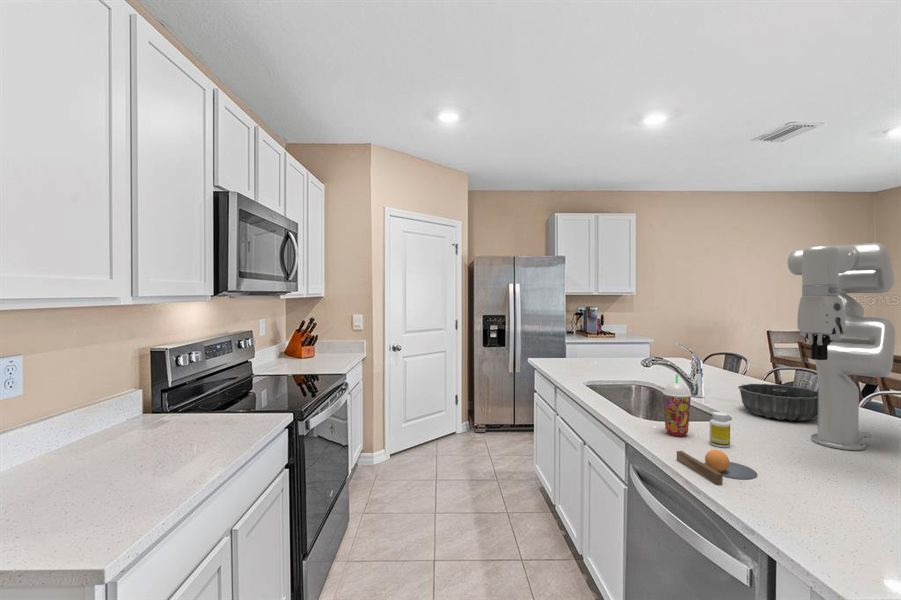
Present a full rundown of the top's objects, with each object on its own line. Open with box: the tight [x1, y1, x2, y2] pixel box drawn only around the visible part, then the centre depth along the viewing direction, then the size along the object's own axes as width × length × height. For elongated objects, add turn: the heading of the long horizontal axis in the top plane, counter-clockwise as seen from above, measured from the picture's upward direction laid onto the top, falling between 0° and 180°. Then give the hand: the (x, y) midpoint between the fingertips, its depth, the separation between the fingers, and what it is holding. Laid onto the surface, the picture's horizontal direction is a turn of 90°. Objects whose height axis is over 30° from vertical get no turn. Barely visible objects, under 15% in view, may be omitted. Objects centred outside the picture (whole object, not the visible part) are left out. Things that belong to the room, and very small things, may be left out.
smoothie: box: [662, 374, 692, 438], centre depth 144 cm, size 8×8×20 cm
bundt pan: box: [737, 383, 818, 422], centre depth 166 cm, size 26×26×10 cm
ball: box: [704, 449, 730, 472], centre depth 114 cm, size 6×6×6 cm
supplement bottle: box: [709, 411, 731, 448], centre depth 134 cm, size 5×5×10 cm
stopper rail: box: [676, 450, 723, 486], centre depth 114 cm, size 2×16×2 cm, turn 5°
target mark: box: [704, 461, 758, 481], centre depth 115 cm, size 12×12×1 cm
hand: (819, 359), depth 117 cm, fingers closed
